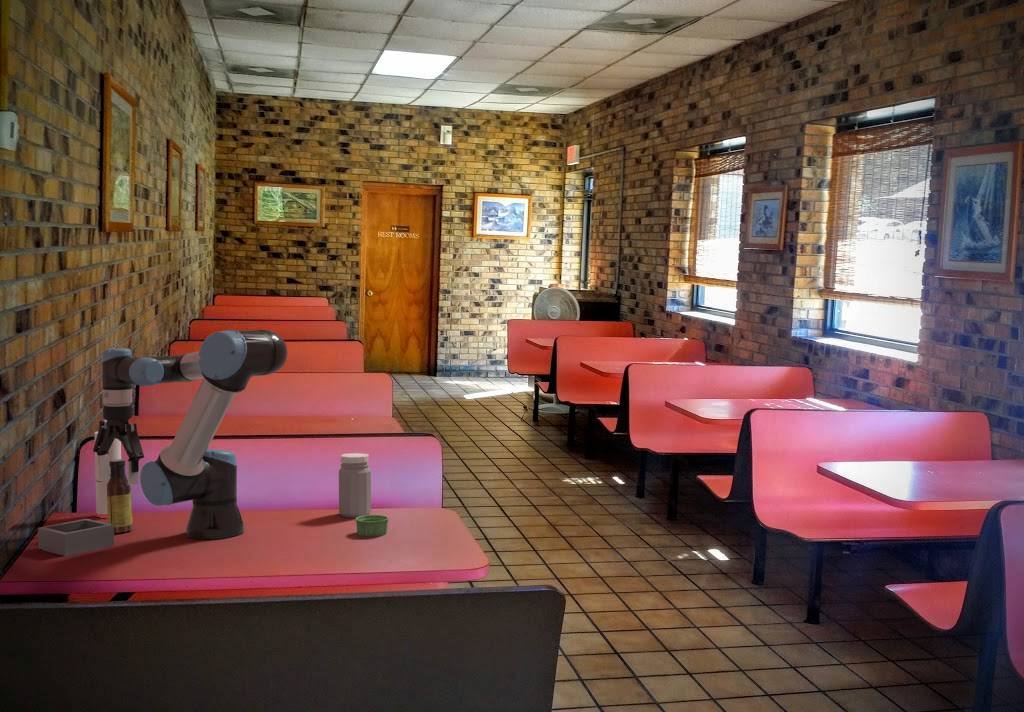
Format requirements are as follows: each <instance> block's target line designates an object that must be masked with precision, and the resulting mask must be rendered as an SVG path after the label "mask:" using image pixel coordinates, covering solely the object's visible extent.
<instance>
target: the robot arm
mask: <svg viewBox="0 0 1024 712" xmlns="http://www.w3.org/2000/svg"><path fill="white" fill-rule="evenodd" d="M287 358H288V348H287V344H286V342H285V340H284V339H283V337H281V335H279V334H278V333H276V332H274V331H272V330H269V329H249V330H247V329H245V330H243V329H242V330H233V329H225V330H222V331H215V332H212V333H211V334H209V335H208V336H207V337H206V338H205V339H204V340H203V342H202V343H201V345H200V348H199V351H194V352H189V353H183V354H178V355H177V354H175V355H159V356H158V355H157V356H133V353H132V350H131V348H126V347H124V348H121V347H120V348H119V347H118V348H114V347H113V348H105V349H104V350H103V351H102V359H101V360H102V361H101V374H102V375H101V376H102V377H101V378H102V379H101V380H102V381H101V382H102V404H104V405H103V406H102V418H103V419H102V420H100V421H99V424H98V425H99V426H98V427H99V428H98V430H97V432H98V434H97V438H96V441H95V440H94V445H93V448H92V449H93V450H92V451H93V453H95V452H96V453H97V455H98V456H99V479H106V478H110V476H109V455H106V454H109V452H108V451H109V449H110V447H111V445H112V443H113V441H114V439H115V438H116V439H118V440H119V441H121V445H122V446H123V448H124V450H125V453H126V455H127V456H128V459H127V480H128V485H130V486H132V485H137V484H138V485H139V482H140V486H141V490H142V493H143V494H144V496H145V498H146V499H147V501H148V502H150V503H151V504H152V505H154V506H158V507H161V506H171V505H174V504H178V503H183V502H184V503H185V502H189V501H192V507H191V511H190V514H189V518H188V522H187V524H186V526H185V529H186V530H185V533H186V534H185V535H186V536H187V537H189V538H192V539H198V540H199V539H200V540H215V539H216V540H217V539H225V538H232V537H236V536H238V535H242V534H243V533H244V532H245V525H244V524H245V523H244V521H243V518H242V514H241V512H240V509H239V506H238V495H237V494H238V489H237V483H238V482H237V481H238V480H237V479H238V477H237V475H238V474H237V472H238V471H237V470H238V469H237V468H238V465H237V456H236V454H235V452H234V451H231V450H227V449H217V448H216V449H215V448H214V449H213V448H209V446H210V445H211V443H212V440H213V438H214V437H215V435H216V433H217V431H218V429H219V426H220V425H221V424H222V421H223V419H224V417H225V415H226V413H227V411H228V409H229V408H230V406H231V404H232V402H233V399H234V397H236V394H239V393H243V391H245V389H246V388H247V385H248V384H249V381H250V380H251V379H252V378H253V377H259V376H260V377H261V376H269V375H272V374H275V373H277V372H279V370H281V369H282V368H283V366H285V364H286V361H287ZM201 379H202V381H201V383H200V385H199V387H198V389H197V391H196V393H195V395H194V396H193V399H192V401H191V403H190V405H189V408H188V410H187V412H186V414H185V415H184V417H183V419H182V422H181V423H180V426H179V427H178V430H177V432H176V434H175V437H174V438H173V440H172V442H171V444H169V445H166V446H164V447H163V448H162V449H161V451H160V453H159V455H158V457H157V459H155V460H154V461H153V460H151V461H148V462H146V463H145V464H144V465H143V466H142V468H141V470H140V474H139V469H140V468H139V467H140V466H139V463H140V462H139V461H140V460H141V459H144V458H145V453H144V452H143V451H144V450H143V447H142V444H141V440H140V437H139V434H138V429H137V424H136V423H135V422H134V423H130V422H129V420H130V419H132V418H133V406H132V404H131V403H133V385H134V386H140V387H151V386H155V385H159V384H162V385H163V384H169V383H189V382H194V381H198V380H201ZM98 447H99V448H98ZM139 478H140V481H139Z"/></svg>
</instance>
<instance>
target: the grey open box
mask: <svg viewBox="0 0 1024 712" xmlns="http://www.w3.org/2000/svg"><path fill="white" fill-rule="evenodd" d="M37 540H38V548H39V549H38V550H40V549H42V550H41V551H44V552H48V553H51V554H56V555H59V556H62V557H63V556H64V557H68V556H69V557H70V556H73V555H77V554H81V553H82V554H83V553H85V552H91V551H96V550H101V549H104V548H105V549H106V548H111V547H114V546H115V533H114V525H113V524H108V522H103V521H98V520H94V519H89V518H83V519H77V520H73V521H68V522H62V523H61V522H60V523H56V524H52V525H46V526H45V525H44V526H41V527H38V528H37Z"/></svg>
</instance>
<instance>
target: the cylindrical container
mask: <svg viewBox="0 0 1024 712" xmlns="http://www.w3.org/2000/svg"><path fill="white" fill-rule="evenodd" d="M97 434H98V431H95V432H94V442H95V441H96V438H97ZM98 448H99V447H98ZM108 452H109V454H106V455H109V461H111V460H116V459H122V442H121V441H119V440H118V439H116V438H115V439H114V441H113V443H112V445H111V447H110V449H109V451H108ZM94 473H95V476H94V477H95V514H96V513H97V514H108V507H107V484H108V482H109V480H110V478H106V479H99V456H98V455H97V453H96V452H94ZM110 474H111V469H110V465H109V476H110V477H111V475H110Z"/></svg>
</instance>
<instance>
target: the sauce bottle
mask: <svg viewBox="0 0 1024 712" xmlns="http://www.w3.org/2000/svg"><path fill="white" fill-rule="evenodd" d="M109 465H110V469H111V474H110V475H111V477H110V480H109V482H108V484H107V507H108V518H107V521H108V522H107V523H108V524H113V525H114V534H121V533H120V532H125V533H127V532H126V531H129V532H131V531H132V530H133V524H134V523H133V505H132V488H131V485H128V477H127V475H126V467H125V466H126V460H125V459H123V458H121V459H116V460H111V461H109ZM131 529H132V530H131ZM130 530H131V531H130Z"/></svg>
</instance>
